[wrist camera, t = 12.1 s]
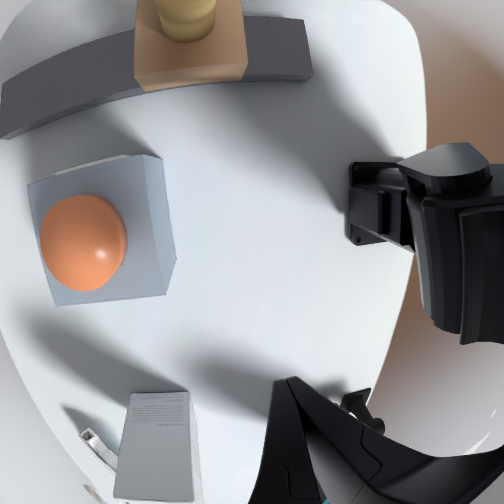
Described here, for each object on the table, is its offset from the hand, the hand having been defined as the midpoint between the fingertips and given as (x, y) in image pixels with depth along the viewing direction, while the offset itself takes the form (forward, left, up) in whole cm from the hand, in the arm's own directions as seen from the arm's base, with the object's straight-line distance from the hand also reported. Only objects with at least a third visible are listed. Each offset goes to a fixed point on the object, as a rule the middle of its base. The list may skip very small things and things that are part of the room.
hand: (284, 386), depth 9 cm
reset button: (+8, -5, -8) cm, 13 cm away
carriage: (+2, -16, -10) cm, 19 cm away
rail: (+6, -16, -12) cm, 21 cm away
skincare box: (+9, +13, -12) cm, 20 cm away
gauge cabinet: (+8, -5, -12) cm, 15 cm away
